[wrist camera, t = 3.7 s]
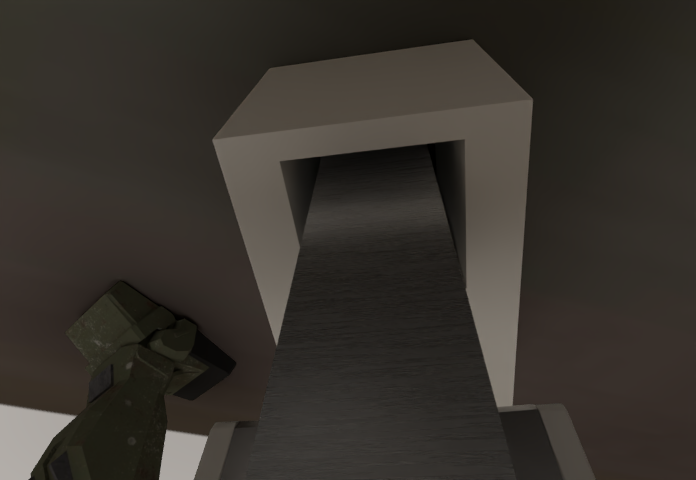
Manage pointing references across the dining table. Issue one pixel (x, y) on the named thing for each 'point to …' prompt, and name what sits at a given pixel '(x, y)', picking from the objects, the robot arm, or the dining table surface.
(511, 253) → the frame
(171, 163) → the dining table surface
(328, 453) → the column
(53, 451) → the mechanical leg
